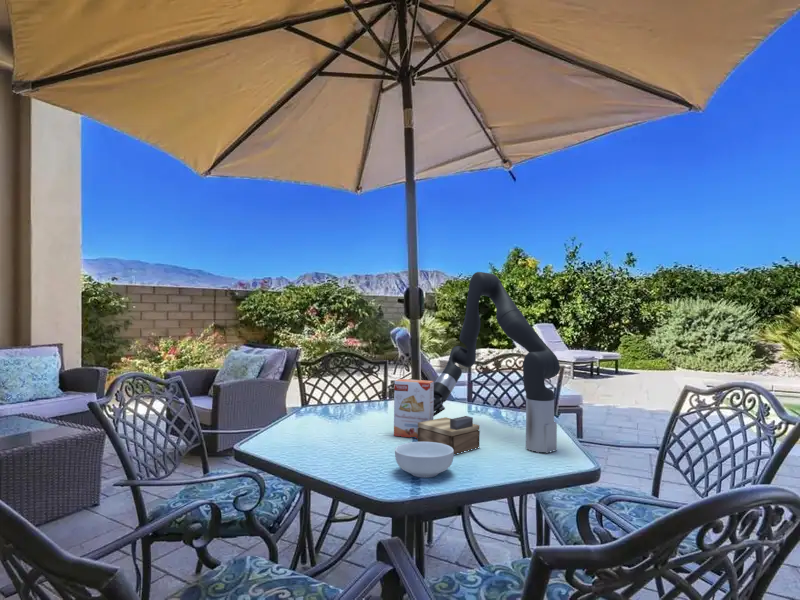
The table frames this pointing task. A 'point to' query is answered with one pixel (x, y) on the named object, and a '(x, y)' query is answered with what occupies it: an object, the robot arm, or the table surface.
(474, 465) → the table surface
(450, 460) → the cereal bowl
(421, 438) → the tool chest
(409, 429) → the cracker box
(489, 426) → the table surface
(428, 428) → the beige cabinet door
